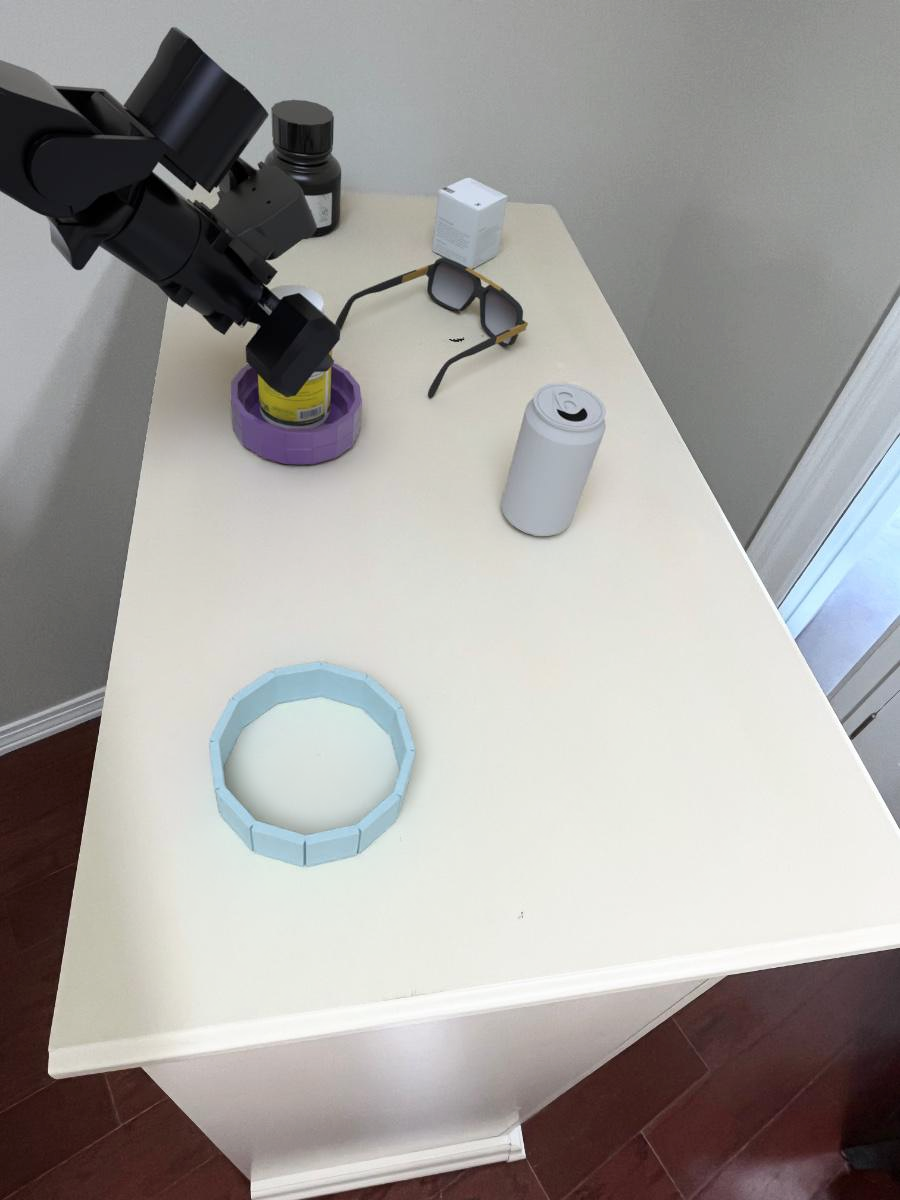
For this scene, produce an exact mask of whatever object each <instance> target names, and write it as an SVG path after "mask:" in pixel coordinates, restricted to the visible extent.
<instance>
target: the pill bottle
mask: <svg viewBox="0 0 900 1200" xmlns="http://www.w3.org/2000/svg"><path fill="white" fill-rule="evenodd" d="M270 290H271V291H272V292H273V293H274V294H275V295H276V296H277V297H278V298H279V299H282V298H283V297H284V296H288V295H292V294H296V293H300V294H302V295H303V296H304V297H305V298H306V299H308V300H309V301H310V302H311V303H312V304H313V305H314V306H316V307H317V308H318V309H319V310H320V311H321V312H322V313H323V314H325V301H324V299H323V297H322V296H321V294H320V293H319V292H317V291H316V290H315V289H312V288H310V287H307V286H304V285H299V284H283V285H279V286H278V285H277V286H275V287H273V288H271V289H270ZM264 308H265V309H266V310H267V311H268V312H269V313H270V314H271V312H272V311H271V310H270V309H269V308H268V307H267V306H266V305H265V304H264ZM260 327H261V326H260V325H259V324H257V327H256V332H257V331H258V329H259V328H260ZM256 332H255V333H256ZM329 354H330V355H331V357H332V358H333V349H332V350H331V351H330V353H329ZM258 387H259V404H260V411H261V414H262V416H263V417H264V419H265V420H266V421H267V422H268V423H269V424H273V425H276V426H280V427H284V428H294V429H312V428H316V427H319V426H320V425H322V424H323V423H324V422H325V421H326V419H327V418H328V415H329V412H330V391H331V367H330V368H329V370H328V371H325V372H314V373H313V374H312V375H311V377H310V378H309V379H308V380H307V382H306V383H305V384H304V385H303V387H302V388H301V389H300V391H299V392H298V393H297V394H296V396H291V397H285V396H283V395H282V394H280V393H279V392H277V391H275V390H274V389H272V388H271V387H270V386H269V385H268V384H267V383H266V382H265V381H264V380H263V379H262V378H261V377H260V376H259V375H258Z"/></svg>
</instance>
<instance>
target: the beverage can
mask: <svg viewBox="0 0 900 1200" xmlns="http://www.w3.org/2000/svg"><path fill="white" fill-rule="evenodd" d="M533 394H534V395H533V397H532V399H530V400H529V401H528V403H527V404H526V406H525V408H524V412H523V417H522V421H521V424H520V429H519V432H518V436H517V438H516V439H517V440H516V444H515V448H514V451H513V455H512V459H511V462H510V466H509V470H508V474H507V478H506V482H505V486H504V490H503V492H502V497H501V501H500V507H501V511H502V514H503V515H504V517H505V520H507V521H508V522H509V523H510V525H512V526H513V527H514V528H516V529H518V530H519V531H521V532H523V533H525V534H526V535H527V534H528V535H530V536H534V537H548V536H549V537H550V536H554V535H558V534H561V533H562V532H565V531H566V530H567V529H568V528H569V527H570V525H571V524H572V522H573V519H574V517H575V514H576V511H577V509H578V505H579V503H580V500H581V497H582V494H583V491H584V489H585V486H586V483H587V481H588V479H589V476H590V472H591V471H592V468H593V465H594V461H595V459H596V457H597V453H598V451H599V448H600V446H601V442H602V440H603V437H604V434H605V431H606V429H607V427H606V426H607V425H606V421H605V417H606V412H607V411H606V406H605V405H604V402H603V401H602V400H601V399H600V397H598V396H597V395H596V394H595V393H593V392H592V391H590V390H589V389H587V388H585V387H582V386H581V385H577V384H573V383H568V382H552V383H547V384H544V385H542V386H541V387H539V388H538V389H537V390H536V391H535V393H533Z"/></svg>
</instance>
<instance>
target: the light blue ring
mask: <svg viewBox="0 0 900 1200" xmlns="http://www.w3.org/2000/svg"><path fill="white" fill-rule="evenodd" d="M319 697H321V698H324V699H328V700H331V701H334V702H338V703H343V704H345V705H349V706H352V707H356V708H358V709H361V710H362V711H363V712H365V713H366V714H367V715H368V716H369V717H370V718H371V719H372V720H373V721H374V722H375V723H376V724H377V725H378V726H379V727H381V729H382V730H383V731H385V732H386V733H387V734H388V736H389V737H390V739H391V744H392V747H393V751H394V754H395V759H396V761H397V762H396V763H397V766H398V769H399V771H398V774H397V777H396V781H395V784H394V787H393V791H392V793H390V794H389V795H388V796H387V797H385V798H384V799H383V800H382V801H381V802H380V803H379V804H378V805H376V806H375V808H373V809H372V810H371V811H370V812H369V813H368V814H366V815H365V816H364V817H363V818H362V819H360V820H359V821H358V822H357V823H355V824H351V825H347V826H342V827H337V828H333V829H328V830H324V831H323V830H322V831H319V832H314V833H309V834H307V835H306V834H303V833H300V832H296V831H294V830H290V829H286V828H283V827H279V826H276V825H273V824H268V823H265V822H262V821H259V820H257V819H256V818H254V816H253V815H252V814H251V813H250V812H249V810H247V809H246V807H244V805H243V804H242V803H241V802H240V801H239V800H238V799H237V797H236V796H235V795H233V793H232V792H231V791H230V790H229V789H228V788H227V785H226V778H225V777H226V776H225V769H224V768H225V765H226V763H227V762H228V759H229V757H230V755H231V752H232V750H233V748H234V746H235V744H236V742H237V740H238V738H239V736H240V735H241V732H242V730H243V729H244V728H245V727H247V726H248V725H250V724H251V723H252V722H254V721H255V720H257V719H258V718H259V717H260V716H262V715H264V714H265V713H266V712H267V711H269V710H271V709H272V708H273V707H274V706H276V705H277V704H284V703H290V702H295V701H303V700H309V699H312V698H319ZM413 739H414V738H413V735H412V732H411V729H410V724H409V722H408V719H407V715H406V711H405V709H404V707H402V704H401V703H400V702H399V701H398V700H397V699H396V698H394V696H393V695H392V694H390V692H388V691H387V690H386V689H385V688H384V687H383V686H382V685H381V684H380V683H378V681H376V680H375V679H374V678H373V677H372V676H371V675H368V674H367V673H365V672H362V671H358V670H354V669H351V668H347V667H344V666H340V665H336V664H333V663H329V662H326V661H322V662H321V661H315V662H307V663H301V664H295V665H288V666H282V667H276V668H273V671H272V670H271V669H270V670H269V671H267V672H266V673H264V674H263V675H261V676H259V678H257V679H255V680H254V681H252V682H251V683H249V684H248V685H246V686H245V687H244V688H242V689H241V690H239V691H237V693H235V694H233V695H232V696H231V698H229V699H228V702H227V704H226V705H225V708H224V709H223V711H222V713H221V716H220V717H219V719H218V721H217V723H216V725H215V727H214V729H213V731H212V733H211V735H210V737H209V739H208V741H209V742H208V749H209V757H210V766H211V773H212V774H211V775H212V782H213V790H214V794H215V800H216V805H217V809H218V813H219V814H220V818H222V820H223V821H224V822H225V823H226V824H227V825H228V826H229V827H230V829H231V830H232V831H233V832H234V834H236V836H237V837H238V838H239V839H240V840H241V841H242V842H243V843H244V844H245V846H247V848H248V849H249V850H250V851H253V852H254V853H253V854H255V855H256V854H257V855H260V856H263V857H266V858H270V859H273V860H277V861H279V862H280V861H281V862H284V863H286V864H291V865H294V866H297V867H301V868H304V867H306V868H309V867H314V866H318V865H322V864H326V863H331V862H335V861H339V860H340V861H341V860H343V859H344V860H345V859H348V858H352V857H353V858H354V857H356V856H357V855H358V854H359V855H360V854H362V853H363V852H364V851H365V850H366V849H367V848H368V847H369V846H371V845H372V844H373V843H374V842H375V841H376V840H377V839H379V837H380V836H381V835H383V834H384V833H385V832H386V831H387V830H388V829H390V827H391V826H393V825H394V824H395V823H396V820H398V818H399V814H400V811H401V808H402V806H403V805H402V804H403V801H404V798H405V794H406V792H407V788H408V784H409V782H410V778H411V773H412V769H413V765H414V761H415V756H416V746H415V743H414V740H413Z"/></svg>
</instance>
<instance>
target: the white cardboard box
mask: <svg viewBox="0 0 900 1200" xmlns="http://www.w3.org/2000/svg"><path fill="white" fill-rule="evenodd" d="M508 198H509V197H508V195H506V194H504V193H503V192H500V191H498V190H496V189H494V188H492V187H490V186H488V185H486V184H483V183H481V182H480V181H477V180H475V179H473V178H471V177H465V178H462V179H461V180H459V181H456V182H454V183H452V184H449V185H447V186H445V187H443V188H440V189H439V190H438V193H437V200H436V211H435V218H434V219H435V221H434V229H433V237H432V238H433V239H432V247H431V248H432V249H431V251H432V252H433V253H435V254H437V255H439V256H441V257H442V258H448V259H450V260H453V261H455V262H458V263H460V264H462V265H464V266H466V267H469V268H470V269H472V270H474V269H475V268H477V267H479V266H481V265H483V264H484V263H486V262H488V261H490V260H491V259H494V258H495V257H497V256H498V255H499V251H500V250H499V249H500V245H501V239H502V233H503V227H504V221H505V216H506V210H507V203H508V200H509V199H508Z"/></svg>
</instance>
